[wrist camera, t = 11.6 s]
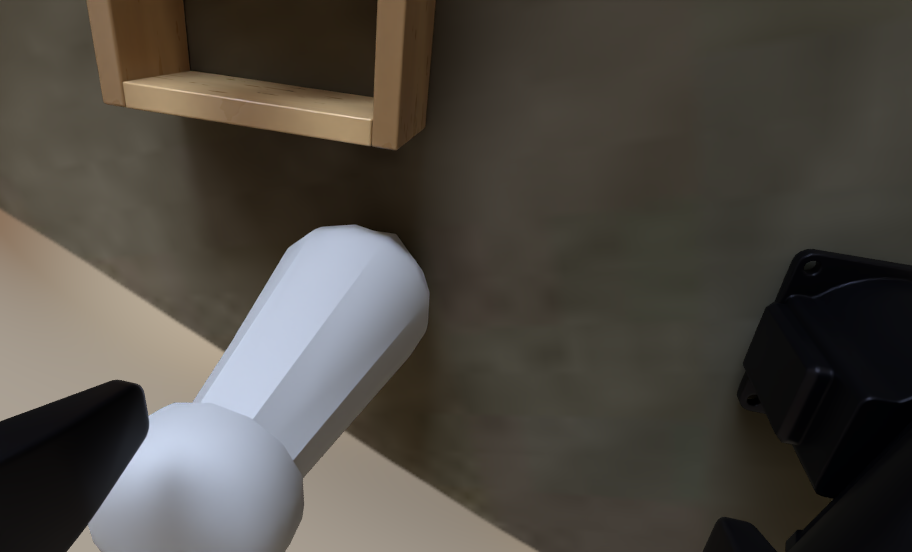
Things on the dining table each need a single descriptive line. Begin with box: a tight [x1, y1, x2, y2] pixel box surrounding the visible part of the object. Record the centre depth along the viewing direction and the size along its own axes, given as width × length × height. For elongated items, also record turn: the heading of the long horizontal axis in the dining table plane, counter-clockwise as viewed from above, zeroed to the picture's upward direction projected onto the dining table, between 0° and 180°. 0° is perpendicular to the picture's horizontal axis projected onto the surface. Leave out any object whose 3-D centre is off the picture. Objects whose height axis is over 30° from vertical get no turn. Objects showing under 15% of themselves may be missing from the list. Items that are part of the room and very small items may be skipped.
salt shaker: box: [88, 224, 430, 552], centre depth 17 cm, size 6×6×13 cm
